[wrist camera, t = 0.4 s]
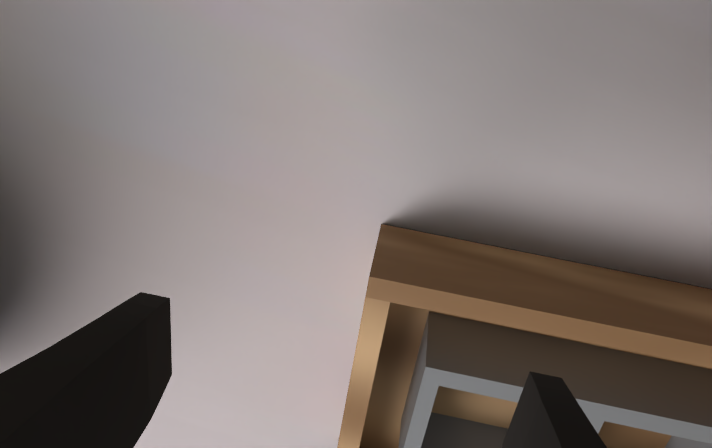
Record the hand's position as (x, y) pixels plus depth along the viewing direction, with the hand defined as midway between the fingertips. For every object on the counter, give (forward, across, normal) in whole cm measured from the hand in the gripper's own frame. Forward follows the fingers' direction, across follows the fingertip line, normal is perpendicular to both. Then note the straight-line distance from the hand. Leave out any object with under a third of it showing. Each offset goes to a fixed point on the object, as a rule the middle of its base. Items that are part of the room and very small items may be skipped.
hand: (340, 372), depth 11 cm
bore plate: (+10, -8, +8) cm, 15 cm away
